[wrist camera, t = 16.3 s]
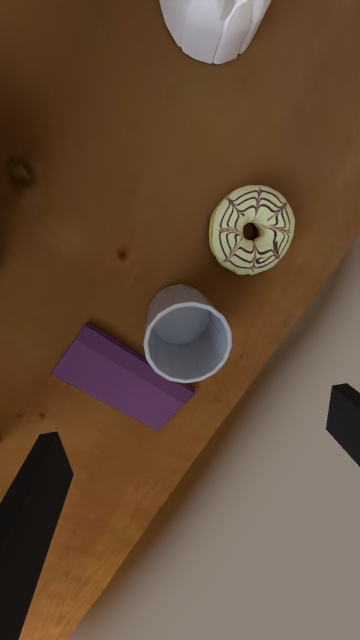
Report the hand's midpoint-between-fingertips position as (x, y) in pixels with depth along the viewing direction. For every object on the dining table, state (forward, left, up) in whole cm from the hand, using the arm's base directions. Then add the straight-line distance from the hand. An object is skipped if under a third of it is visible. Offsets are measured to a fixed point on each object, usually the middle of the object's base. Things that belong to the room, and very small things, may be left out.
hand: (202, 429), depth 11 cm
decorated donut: (+11, +8, -24) cm, 28 cm away
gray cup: (+1, -2, -24) cm, 24 cm away
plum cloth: (-9, -12, -24) cm, 28 cm away
